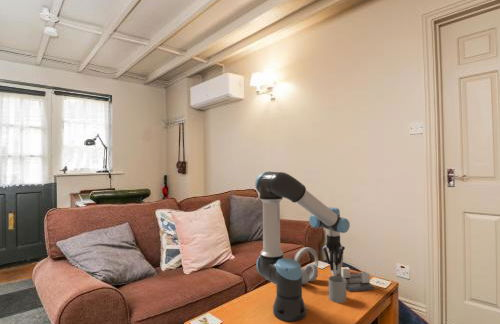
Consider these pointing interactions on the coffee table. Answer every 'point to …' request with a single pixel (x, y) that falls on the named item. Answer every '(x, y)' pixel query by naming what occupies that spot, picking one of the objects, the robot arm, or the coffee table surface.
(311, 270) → the headphones
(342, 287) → the cup
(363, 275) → the block
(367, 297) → the coffee table surface
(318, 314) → the coffee table surface
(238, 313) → the coffee table surface
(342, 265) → the coffee cup
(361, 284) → the console
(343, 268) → the block
